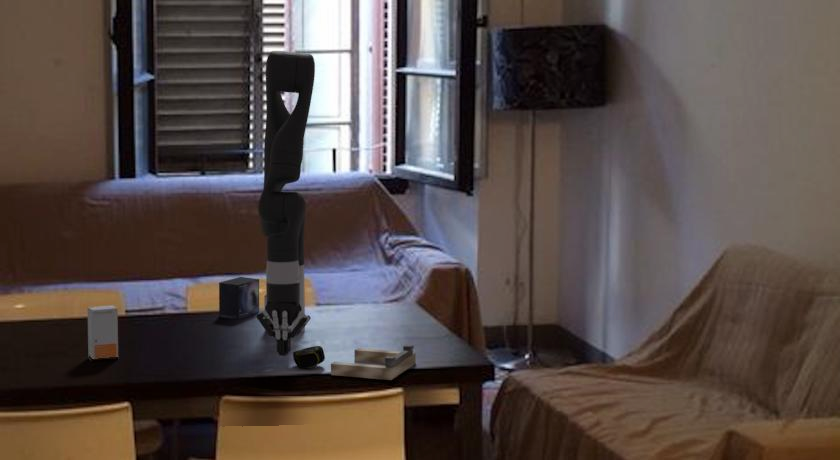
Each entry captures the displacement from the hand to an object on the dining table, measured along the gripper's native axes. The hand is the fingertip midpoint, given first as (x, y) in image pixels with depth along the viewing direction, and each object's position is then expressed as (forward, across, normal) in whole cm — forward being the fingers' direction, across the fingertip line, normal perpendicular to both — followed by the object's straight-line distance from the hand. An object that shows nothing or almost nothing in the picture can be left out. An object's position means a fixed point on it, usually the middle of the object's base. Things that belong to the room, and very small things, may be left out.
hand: (283, 355), depth 294 cm
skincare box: (+2, -40, -11) cm, 42 cm away
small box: (+2, -31, +40) cm, 51 cm away
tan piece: (+2, +21, 0) cm, 21 cm away
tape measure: (+1, +8, 0) cm, 8 cm away
